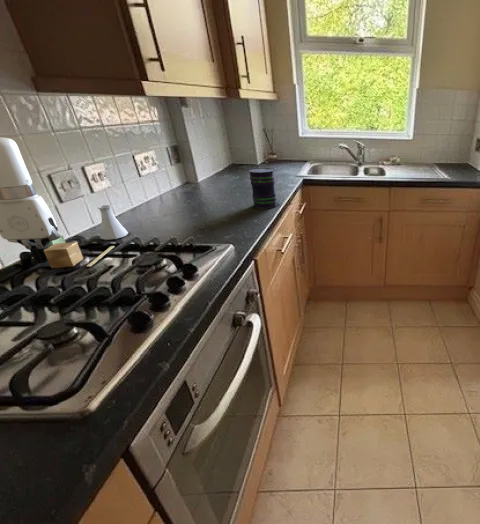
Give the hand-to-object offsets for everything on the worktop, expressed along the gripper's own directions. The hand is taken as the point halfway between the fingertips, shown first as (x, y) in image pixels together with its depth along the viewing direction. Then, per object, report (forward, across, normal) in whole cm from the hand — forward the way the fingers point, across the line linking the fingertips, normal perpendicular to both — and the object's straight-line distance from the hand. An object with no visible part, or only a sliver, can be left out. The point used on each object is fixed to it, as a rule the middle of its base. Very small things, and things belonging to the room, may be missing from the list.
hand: (44, 261), depth 87 cm
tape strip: (+1, +11, +4) cm, 12 cm away
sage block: (+1, -2, +7) cm, 7 cm away
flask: (+1, +8, +20) cm, 22 cm away
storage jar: (+1, +54, +50) cm, 73 cm away
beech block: (+1, +5, 0) cm, 5 cm away
